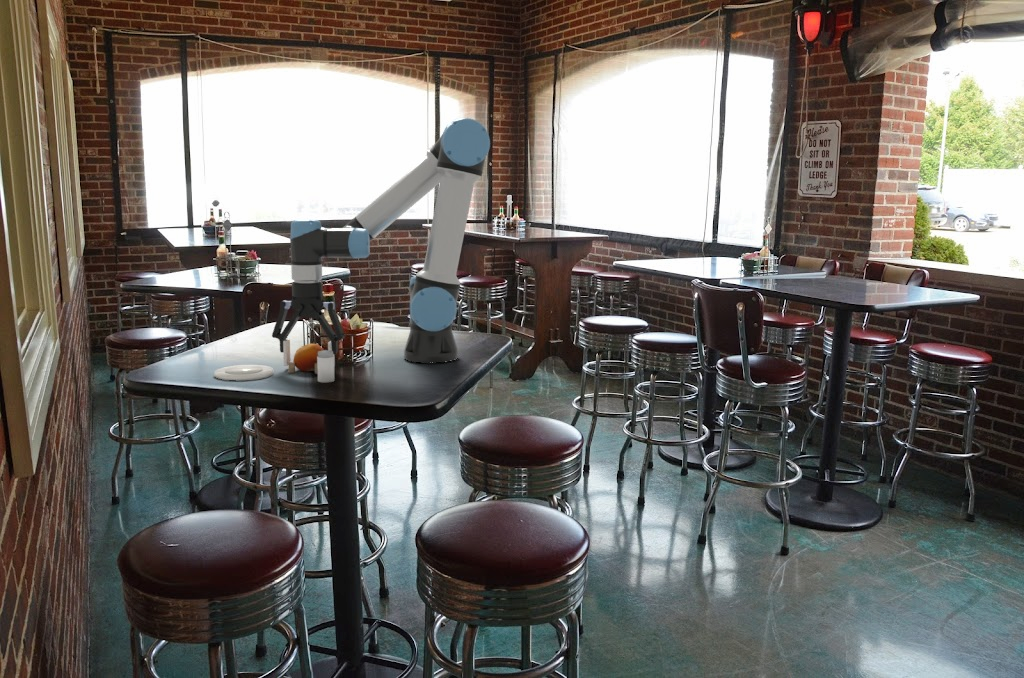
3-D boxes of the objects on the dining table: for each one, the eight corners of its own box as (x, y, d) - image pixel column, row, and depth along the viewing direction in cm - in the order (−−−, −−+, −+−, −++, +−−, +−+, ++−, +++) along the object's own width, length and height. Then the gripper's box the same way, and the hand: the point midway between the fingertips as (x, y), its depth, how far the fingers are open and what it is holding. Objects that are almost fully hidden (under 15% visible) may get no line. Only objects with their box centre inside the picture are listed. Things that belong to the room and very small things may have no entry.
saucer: (281, 369, 209) (281, 364, 209) (260, 381, 196) (259, 376, 195) (229, 367, 210) (229, 362, 210) (204, 379, 197) (204, 373, 197)
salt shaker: (336, 379, 200) (336, 350, 199) (331, 382, 196) (330, 353, 195) (320, 378, 200) (320, 349, 199) (315, 382, 196) (314, 352, 195)
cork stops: (330, 367, 213) (330, 357, 213) (320, 373, 205) (319, 364, 205) (299, 365, 214) (299, 356, 214) (287, 372, 206) (287, 363, 205)
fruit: (324, 369, 204) (308, 341, 204) (299, 383, 206) (283, 355, 206) (337, 362, 212) (321, 336, 212) (313, 376, 214) (298, 350, 214)
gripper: (356, 280, 208) (358, 364, 212) (267, 278, 210) (270, 361, 214) (348, 283, 201) (349, 370, 205) (256, 281, 203) (259, 367, 207)
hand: (309, 365), depth 209 cm, fingers open, 11 cm apart
